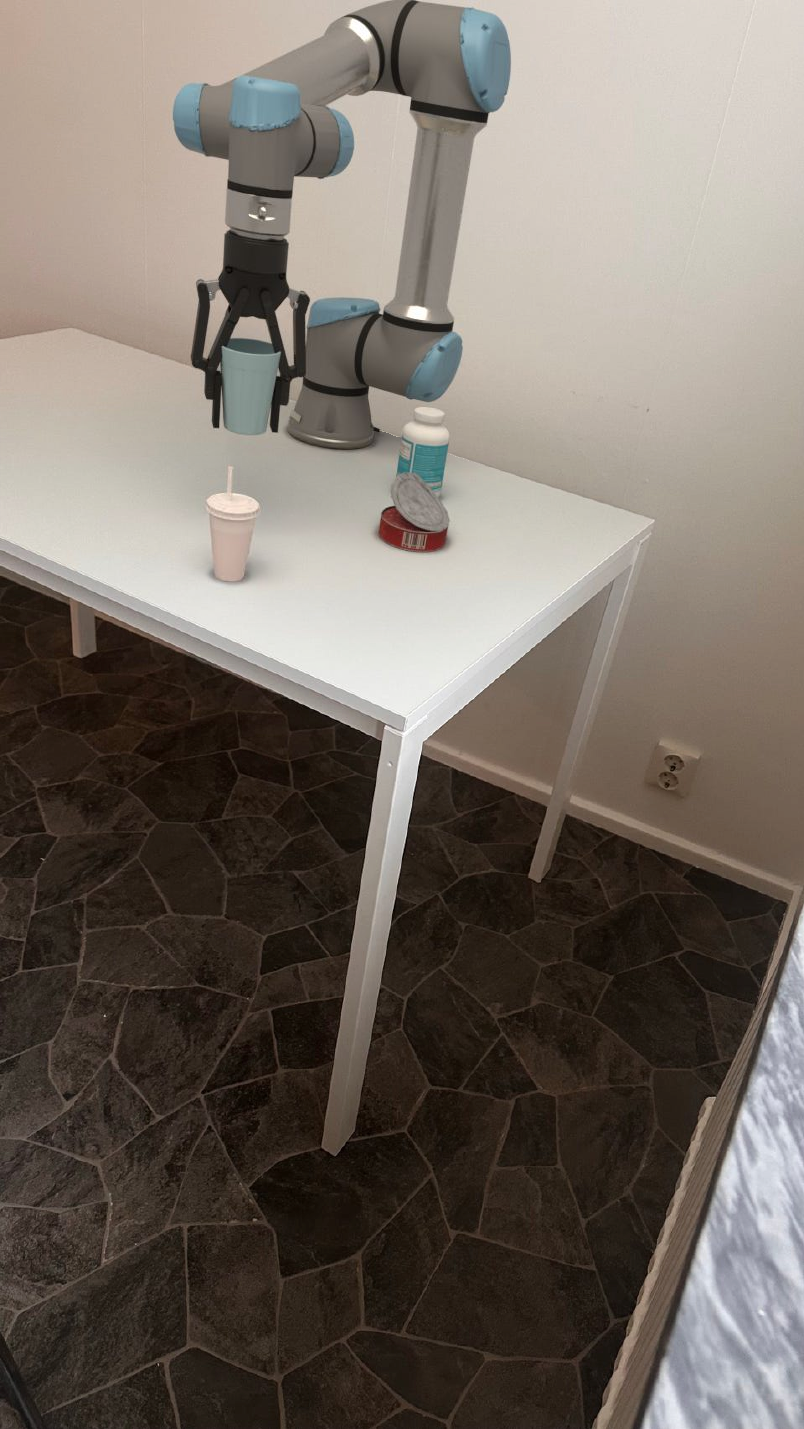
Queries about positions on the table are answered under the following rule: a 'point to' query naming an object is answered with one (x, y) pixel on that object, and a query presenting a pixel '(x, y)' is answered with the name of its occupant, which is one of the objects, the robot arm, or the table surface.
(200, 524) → the table surface
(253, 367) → the cup
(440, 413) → the pill bottle
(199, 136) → the robot arm
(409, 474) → the canned food
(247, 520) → the smoothie
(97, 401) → the table surface
